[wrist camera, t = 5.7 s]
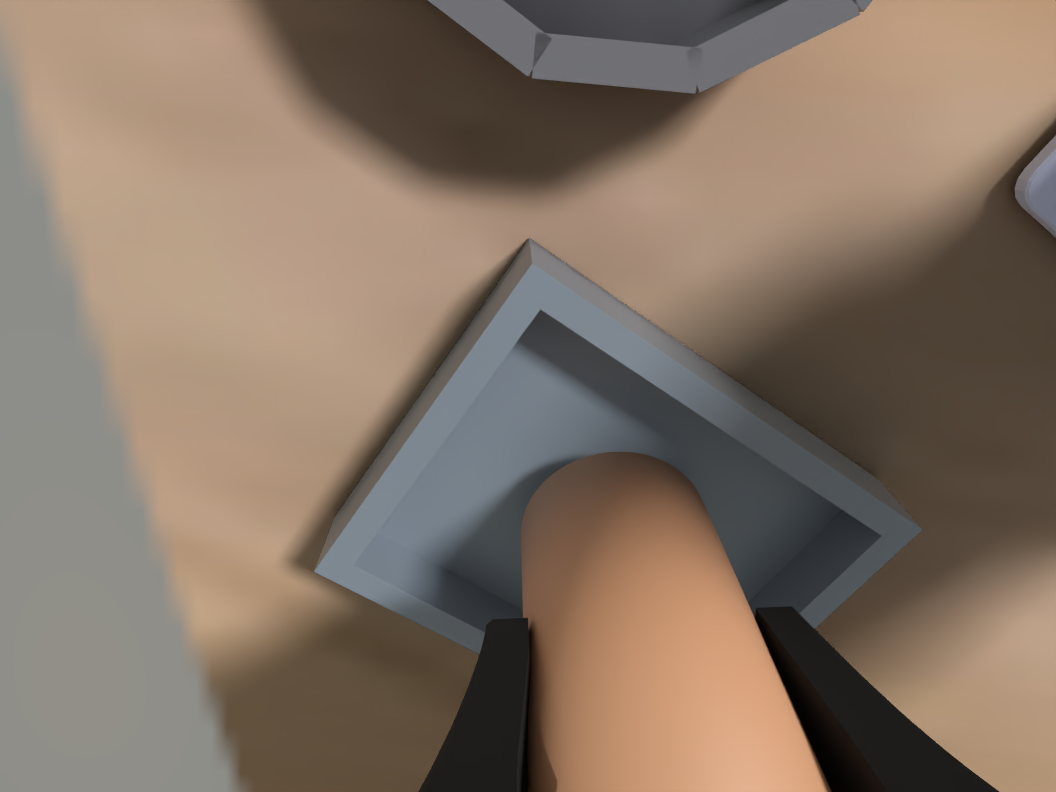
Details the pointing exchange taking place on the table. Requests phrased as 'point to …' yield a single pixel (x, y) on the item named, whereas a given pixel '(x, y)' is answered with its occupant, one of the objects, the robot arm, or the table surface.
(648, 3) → the grey round bowl
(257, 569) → the table surface
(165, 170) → the table surface
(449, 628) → the tray
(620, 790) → the dowel
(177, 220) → the table surface
